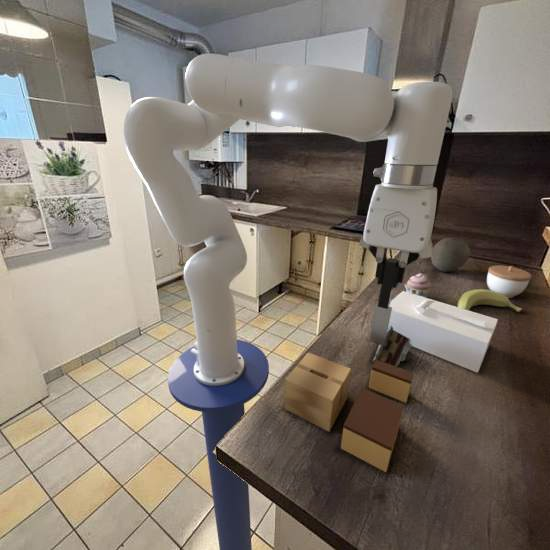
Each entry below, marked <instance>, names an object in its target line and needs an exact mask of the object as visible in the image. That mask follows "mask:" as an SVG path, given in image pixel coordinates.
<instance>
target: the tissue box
mask: <svg viewBox="0 0 550 550" xmlns="http://www.w3.org/2000/svg"><path fill="white" fill-rule="evenodd" d="M389 307H392V311H391V316H390V321H389V326H388V328H389V327H390V326H391V324H392V327H393V330H394V331H396V332H398V333H400V334H402V335H404V336H405V337H407V338H409V339H410V340H411V341H410V344H411V345H412V346H411V347H413V348H416V349H419V350H421V351H423V352H426V353H428V354H431V355H433V356H436V357H438V358H440V359H443V360H445V361H448V362H450V363H452V364H455V365H457V366H460V367H462V368H465V369H466V370H470V371H472V372H474V373H476V374H477V373H479V371H480V368H481V367H482V364H483V361H484V359H485V356H486V354H487V352H488V349H489V346H490V343H491V341H492V339H493V338H492V337H493V336H494V332H495V330H496V328H497V327H496V326H497V324H498V320H499V319H498V318H495V317H492V316H488V315H486V314H485V315H484V314H482V313H478V312H475V311H472V310H469V311H468V310H465V309H462V308H458V306H455V305H451V304H448V303H444V302H442V301H438V300H435V299H431V298H428V297H427V298H425V297H422V296H418V295H415V294H412V293H408V292H406V290H405V291H404V290H402V291H401V292H400V293H399V294H397V295H396V296H394V298H393V299H391V302H390V305H389Z"/></svg>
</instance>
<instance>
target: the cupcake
mask: <svg viewBox="0 0 550 550" xmlns="http://www.w3.org/2000/svg"><path fill="white" fill-rule="evenodd" d="M431 284H432V283H431V281H430V280H429V278H428V276H426V274H424V273H422V272H420V273H417V274H416V275H412V276H410V277H409V279H408V280H407V281H406V283H404V284H403V285H404V287H405V292H408V293H412V294H415V295H418V296H422V297H425V298H428V297H429V294H430V293H431V292H432V291H433V290H434V287H432V285H431Z"/></svg>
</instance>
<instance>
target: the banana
mask: <svg viewBox="0 0 550 550" xmlns="http://www.w3.org/2000/svg"><path fill="white" fill-rule="evenodd" d="M480 305H483V306H484V305H486V306H487V305H488V306H493V307H499V308H506V307H508V308H511V309H513V310H514V311H515V312H516V313H518V314H519V313H521V312H522V311H523V308H522V307H519V306H516V305H515V304H514V303H513V302H511V300H510V298H507V297H506V296H505V295H503V294H501V293H499V292H495V291H491V290H490V289H483V288H480V289H479V288H478V289H471V290H468V291H466V292H464V293H463V294H462V295H460V298H459V299H458V302H457V307H458V308H462V309H465V310H468V311H471V310H470V309H471V308H472V307H474V306H480Z"/></svg>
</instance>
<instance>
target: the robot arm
mask: <svg viewBox="0 0 550 550" xmlns="http://www.w3.org/2000/svg"><path fill="white" fill-rule="evenodd" d="M185 70H186V72H185V75H184V76H185V77H184V78H185V79H184V80H185V88H186V89H187V90H186V91H187V93H188V95H189V97H190V98H191V101H190V102H189V103H184V102H181V101H176V100H173V99H170V98H164V97H157V96H147V97H143V98H140V99H137V100H136V101H135V102H133V103H132V104H131V106H129V108H128V110H127V112H126V114H125V118H124V122H123V141H124V147H125V149H126V152H127V154H128V157H129V159H130V161H131V162H132V164H133V166H134V169H136V171H137V173H138V175H139V176H140V178H141V179H142V181H143V183H144V184H145V186H146V187H147V190H148V191H149V193H150V196H151V198H152V200H153V202H154V204H155V207H156V208H157V210H158V212H159V214H160V217H161V218H162V221H163V223H164V224H165V226H166V228H167V230H168V233H169V234H170V236H171V238H172V239H173V240H174V242H175V243H176V244H178V245H179V246H181V247H184V248H191V247H196V246H198V245H200V244H202V243H204V244H205V246H206V247H204V248H202V249H200V250H199V251H197V252H195V253H194V254H193V255H191V257H190V258H189V259H188V260H187V261H186V263H185V265H184V268H183V279H184V284H185V286H186V290H187V291H188V295H189V299H190V302H191V308H192V309H191V310H192V316H193V323H194V324H193V325H194V332H195V339H196V341H195V342H194V344H193V347H194V348H196V349H198V350H196V349H194V348H193V349H191V353H192V354H194V355H196V357H197V361H196V363H195V365H194V375H195V377H196V379H197V380H198V381H199V382H201V383H203V384H206V385H210V386H220V385H225V384H228V383H231V382H233V381H234V380H236V379H237V378H238V377H240V375H241V374H242V373H243V371H244V359H243V357H242V356H241V355H240V354H239V353H238V351H237V340H238V337H237V334H238V333H237V318H236V306H235V299H234V297H233V295H232V292H231V289H230V286H231V282H233V281H234V280H235V279H236V278H237V276H239V275H240V274H241V273H242V272H243V271H244V269H245V267H246V265H247V263H248V254H247V250H246V247H245V245H244V242H243V239H242V237H241V235H240V232H239V230H238V228H237V226H236V224H235V221H234V219H233V217H232V214H231V212H230V210H229V209H228V207H227V206H226V205H225V203H224V202H223V201H222V200H221V199H219V198H218V197H216V196H215V195H211V194H203V195H199V193H198V191H197V189H196V188H195V186H194V184H193V180H192V178H191V176H190V174H189V173H188V171H187V170H186V168H185V167H184V165H183V164H182V163H181V162H180V161H179V160H178V159H177V157H176V156H175V155H174V152H175V151H198V150H201V149H203V148H206V147H207V146H208V145H210V144H211V143H212V142H213V141H215V140H216V139H217V138H219V137H220V136H221V135H222V134H224V133H226V131H227V130H228V129H230V128H231V127H232V126H234V125H235V124H236V123H238V121H239V120H241V121H242V120H243V121H247V122H251V123H256V124H261V125H266V126H271V127H276V128H282V127H295V128H296V127H297V128H301V129H307V130H313V131H317V132H322V133H326V134H331V135H336V136H340V137H345V138H348V139H351V140H353V141H356V142H359V143H360V142H361V143H366V142H373V141H379V140H380V141H381V140H387V143H386V144H387V145H386V152H385V159H384V163H383V164H382V166H380V167H375V168H374V169H373V177H378V178H380V182H381V183H379V184H375V187H374V189H373V192H372V194H371V198H370V203H369V205H368V210H367V215H366V220H365V224H364V230H363V235H362V236H361V238H360V240H359V242H358V243H359V246H361V247H363V248H364V249H365V250H368V251H369V252H370V254H371V255H372V256H373V257H374V260H375V262H376V269H375V275H374V277H375V278H377V282H376V284H377V285H381V284H382V280H383V274H384V268H385V262H386V260H387V259H388V256H387V254H388V249H389V250H394V251H400V257H399V259H398V260H399V261H398V264H397V265H396V267H395V270H394V275H393V280H392V285H391V286H392V287H393V289H396V288H397V287H398V285H399V284H402V283H403V282H404V278H405V277H404V276H405V272H406V268H407V266H409V265H410V264H412V263H414V262H416V261H417V260H424V259H431V257H432V256H433V254H434V250H433V248H434V246H433V241H432V234H433V230H434V229H433V228H434V223H435V218H436V211H437V202H438V188H437V187H435V186H434V184H435V183H434V182H435V177H436V173H437V169H438V164H439V158H440V155H441V150H442V145H443V141H444V136H445V132H446V129H447V123H448V119H449V115H450V109H451V105H452V100H453V89H452V87H451V85H449V84H448V83H446V82H443V81H420V82H413V83H410V84H409V83H408V84H406V85H404V86H402V87H401V88H399V89H398V90H397V91H396V90H392V89H391V87H390V86H389V84H388V83H387V82H386V81H385V80H383V78H380V77H379V76H377V75H374V74H371V73H367V72H361V71H355V70H350V69H344V68H338V67H331V66H325V65H316V64H315V65H314V64H313V65H312V64H279V63H273V62H266V61H259V60H254V59H249V58H242V57H236V56H232V55H231V56H230V55H225V54H218V53H202V54H199V55H197V56H195V57H194V58H193V59H192V60H190V61H189V63H188V66H187V67H186V69H185Z"/></svg>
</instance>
